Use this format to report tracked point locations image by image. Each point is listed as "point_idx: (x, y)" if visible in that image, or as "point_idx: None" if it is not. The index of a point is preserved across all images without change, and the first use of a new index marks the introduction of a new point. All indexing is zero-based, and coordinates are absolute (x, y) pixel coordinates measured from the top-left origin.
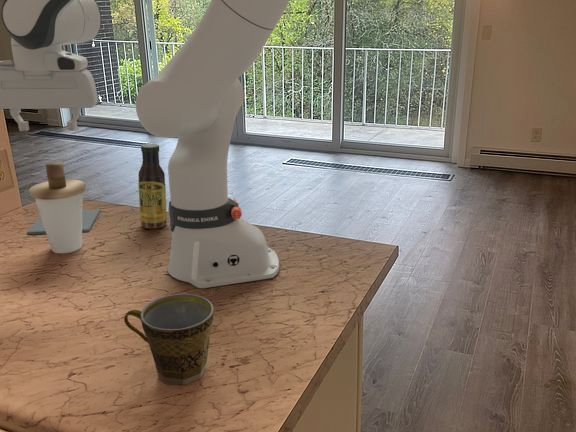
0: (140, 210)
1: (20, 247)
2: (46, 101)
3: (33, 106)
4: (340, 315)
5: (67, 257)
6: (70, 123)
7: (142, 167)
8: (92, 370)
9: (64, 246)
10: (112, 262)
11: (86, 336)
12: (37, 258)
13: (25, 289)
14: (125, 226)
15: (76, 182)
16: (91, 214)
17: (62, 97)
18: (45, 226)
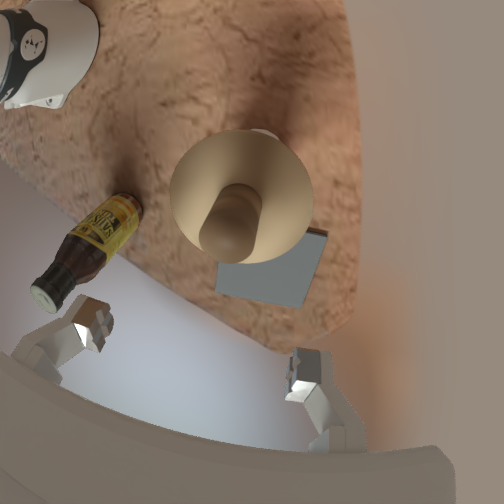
0: (127, 219)
1: (337, 182)
2: (114, 455)
3: (215, 453)
4: None
5: (253, 108)
6: (79, 318)
7: (77, 268)
8: None
9: (256, 129)
10: (175, 70)
11: None
12: (306, 121)
13: (313, 7)
14: (168, 218)
15: (195, 227)
16: (226, 276)
17: (19, 427)
18: None
